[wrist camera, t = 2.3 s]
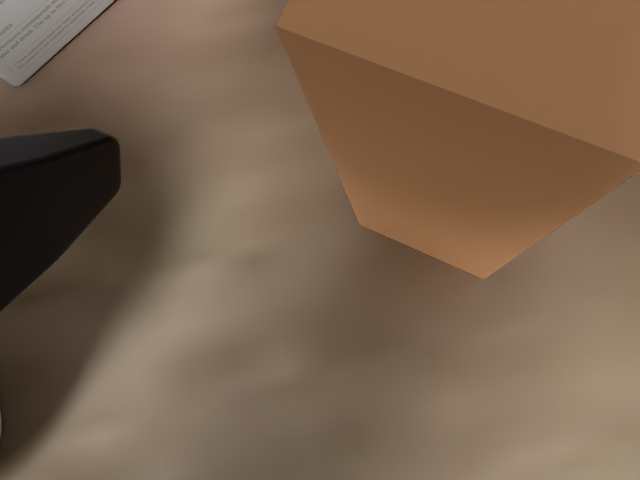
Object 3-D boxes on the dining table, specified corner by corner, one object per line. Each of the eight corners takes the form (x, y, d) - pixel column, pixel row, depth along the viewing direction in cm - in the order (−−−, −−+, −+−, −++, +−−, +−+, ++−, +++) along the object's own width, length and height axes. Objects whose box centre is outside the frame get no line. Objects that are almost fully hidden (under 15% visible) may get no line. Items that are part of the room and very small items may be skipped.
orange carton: (483, 279, 19) (648, 164, 6) (359, 224, 20) (275, 26, 7) (538, 157, 19) (798, -191, 6) (413, 109, 20) (427, -278, 7)
